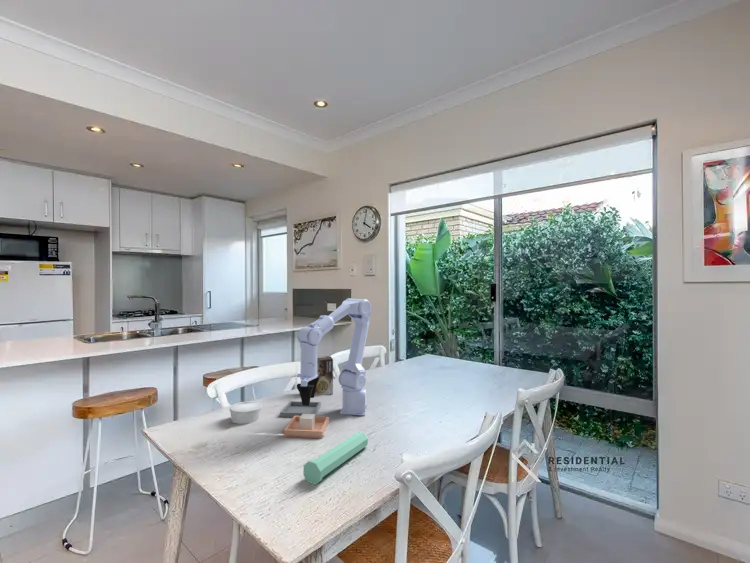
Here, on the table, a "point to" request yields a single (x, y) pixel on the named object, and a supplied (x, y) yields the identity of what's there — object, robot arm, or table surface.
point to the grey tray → (300, 409)
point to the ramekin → (245, 412)
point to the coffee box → (324, 375)
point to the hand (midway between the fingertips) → (308, 401)
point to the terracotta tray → (317, 431)
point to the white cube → (307, 422)
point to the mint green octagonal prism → (334, 457)
